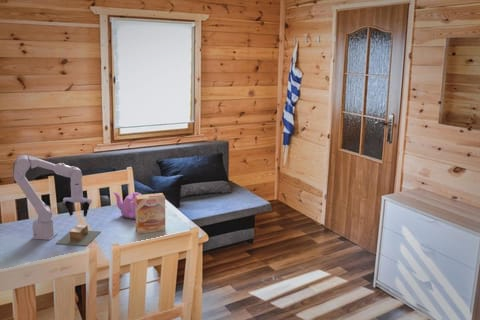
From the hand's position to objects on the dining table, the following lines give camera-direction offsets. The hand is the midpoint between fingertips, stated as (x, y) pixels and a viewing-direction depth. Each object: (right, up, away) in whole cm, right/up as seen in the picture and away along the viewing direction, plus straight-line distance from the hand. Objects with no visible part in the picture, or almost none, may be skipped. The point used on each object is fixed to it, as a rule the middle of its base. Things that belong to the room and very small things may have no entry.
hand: (78, 215), depth 246 cm
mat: (+2, -11, -5) cm, 12 cm away
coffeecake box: (+36, -9, +8) cm, 38 cm away
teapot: (+22, -3, +29) cm, 36 cm away
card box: (+2, -11, -5) cm, 12 cm away
